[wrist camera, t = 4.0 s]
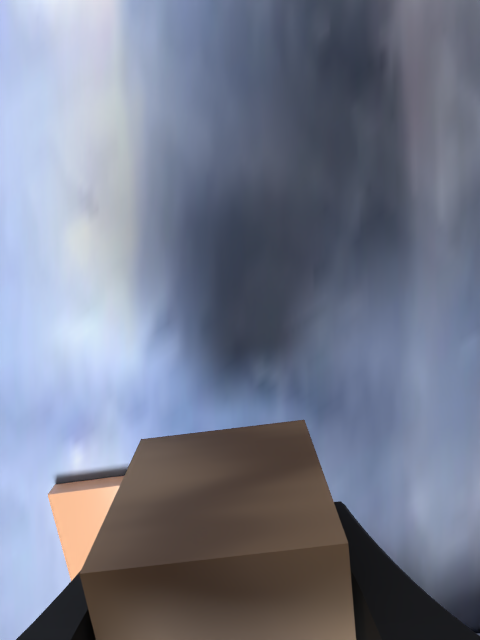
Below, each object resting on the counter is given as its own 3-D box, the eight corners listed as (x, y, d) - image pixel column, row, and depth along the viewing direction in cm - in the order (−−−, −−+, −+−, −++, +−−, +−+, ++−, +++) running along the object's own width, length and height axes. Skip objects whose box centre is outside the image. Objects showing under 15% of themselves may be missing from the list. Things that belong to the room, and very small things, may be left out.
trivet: (255, 458, 20) (256, 468, 19) (278, 622, 22) (280, 637, 21) (55, 484, 20) (47, 494, 19) (97, 644, 22) (92, 659, 22)
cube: (304, 419, 12) (348, 543, 8) (318, 559, 13) (364, 747, 9) (141, 439, 12) (79, 574, 8) (167, 576, 14) (128, 771, 9)
